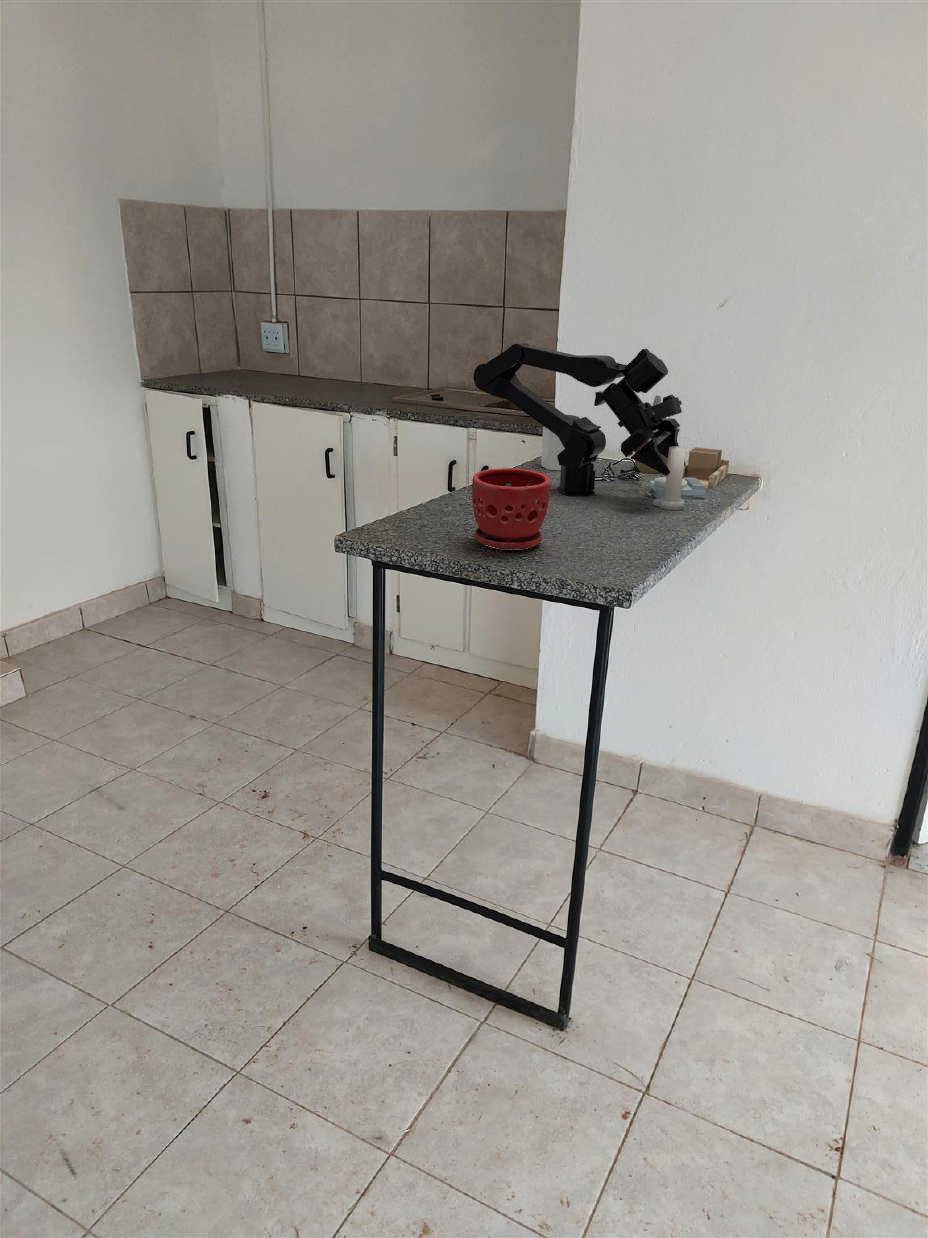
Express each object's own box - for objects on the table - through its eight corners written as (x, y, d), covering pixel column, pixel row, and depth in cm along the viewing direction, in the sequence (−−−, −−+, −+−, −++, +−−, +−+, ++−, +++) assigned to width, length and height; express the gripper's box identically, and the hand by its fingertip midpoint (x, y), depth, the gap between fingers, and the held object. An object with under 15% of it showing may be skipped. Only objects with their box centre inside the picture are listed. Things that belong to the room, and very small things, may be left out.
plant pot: (455, 541, 155) (456, 472, 151) (513, 530, 163) (516, 464, 158) (503, 560, 146) (506, 488, 141) (562, 547, 153) (567, 478, 149)
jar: (560, 472, 209) (563, 420, 205) (534, 466, 215) (536, 416, 210) (584, 467, 215) (588, 417, 211) (558, 462, 221) (561, 412, 216)
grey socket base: (656, 498, 188) (658, 484, 187) (649, 489, 195) (650, 476, 194) (704, 499, 188) (706, 485, 187) (694, 490, 195) (696, 477, 194)
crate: (713, 480, 200) (716, 454, 198) (686, 477, 203) (689, 451, 201) (718, 476, 205) (722, 449, 203) (692, 472, 208) (695, 447, 206)
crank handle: (687, 506, 182) (693, 447, 178) (679, 511, 178) (685, 451, 174) (658, 502, 185) (664, 444, 181) (649, 507, 181) (655, 447, 177)
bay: (711, 493, 193) (714, 472, 192) (670, 488, 197) (672, 467, 195) (726, 479, 207) (729, 460, 205) (687, 474, 211) (690, 455, 209)
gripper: (641, 386, 167) (692, 451, 166) (675, 377, 182) (722, 437, 181) (599, 424, 174) (648, 488, 173) (635, 413, 189) (680, 471, 188)
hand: (676, 470), depth 178 cm, fingers open, 9 cm apart
